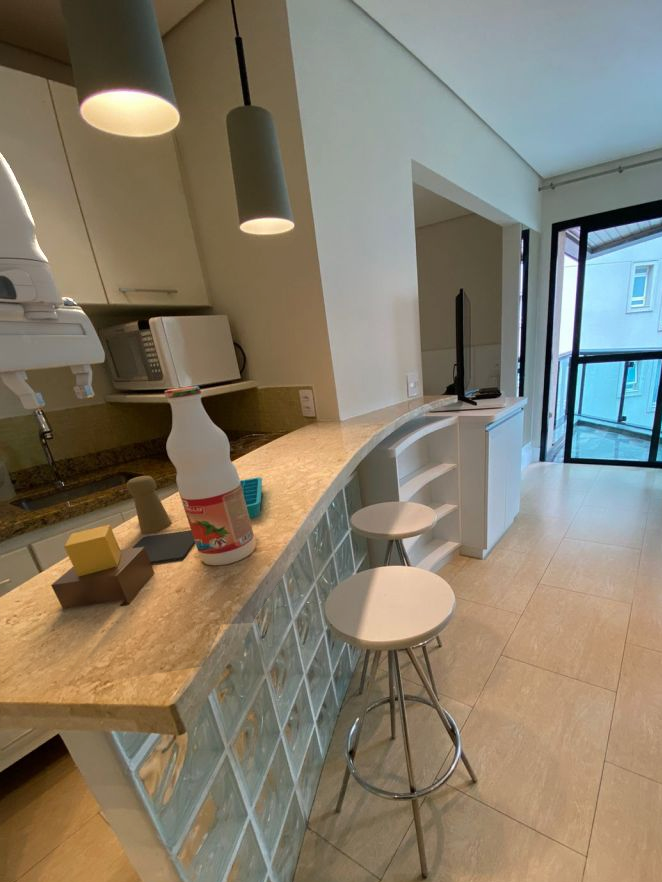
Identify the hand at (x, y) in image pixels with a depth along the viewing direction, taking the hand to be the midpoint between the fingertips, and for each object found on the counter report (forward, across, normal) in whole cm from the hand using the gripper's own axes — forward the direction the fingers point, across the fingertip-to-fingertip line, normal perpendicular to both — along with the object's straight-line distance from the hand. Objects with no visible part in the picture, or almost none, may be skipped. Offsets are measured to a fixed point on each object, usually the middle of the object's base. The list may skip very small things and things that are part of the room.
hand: (63, 402), depth 57 cm
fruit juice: (+28, -4, +15) cm, 32 cm away
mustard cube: (+23, +6, 0) cm, 24 cm away
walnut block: (+28, +6, 0) cm, 29 cm away
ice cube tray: (+28, -28, +8) cm, 41 cm away
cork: (+28, -20, -7) cm, 35 cm away
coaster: (+28, -9, 0) cm, 29 cm away
